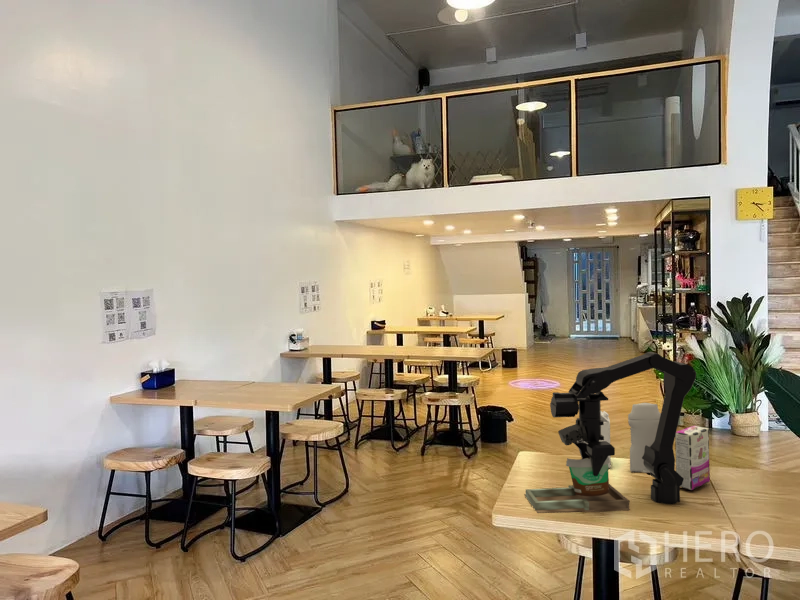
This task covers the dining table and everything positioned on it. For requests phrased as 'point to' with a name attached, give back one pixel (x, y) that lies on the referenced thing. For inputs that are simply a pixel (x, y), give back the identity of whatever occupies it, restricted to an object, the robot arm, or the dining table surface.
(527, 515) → the dining table surface
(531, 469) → the dining table surface
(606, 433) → the milk carton
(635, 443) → the light grey flat bottle
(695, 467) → the candy bar box
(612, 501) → the green flat tray
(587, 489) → the food container
